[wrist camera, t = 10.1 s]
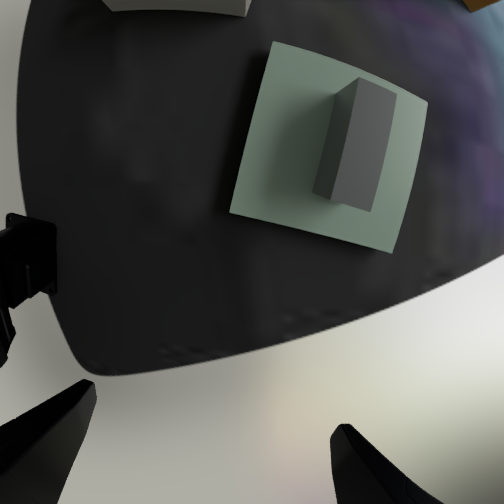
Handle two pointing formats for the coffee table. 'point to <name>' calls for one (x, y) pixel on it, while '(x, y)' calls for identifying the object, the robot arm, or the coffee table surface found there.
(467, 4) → the small box
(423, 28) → the coffee table surface
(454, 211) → the coffee table surface
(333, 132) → the lid
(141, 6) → the storage box
